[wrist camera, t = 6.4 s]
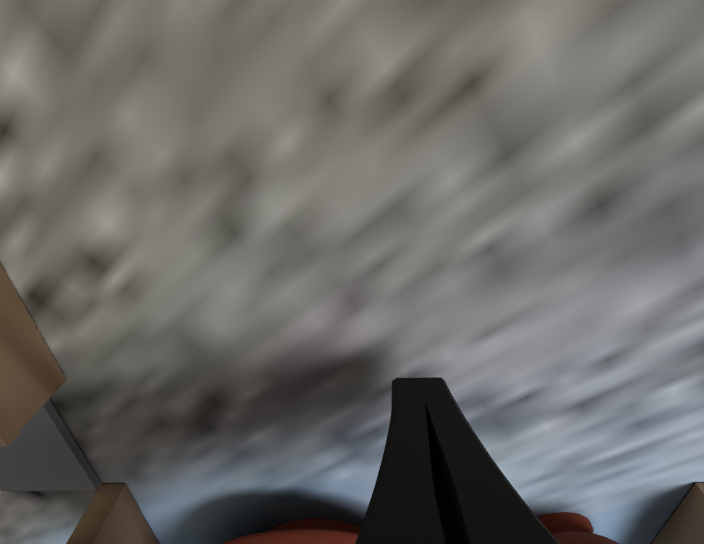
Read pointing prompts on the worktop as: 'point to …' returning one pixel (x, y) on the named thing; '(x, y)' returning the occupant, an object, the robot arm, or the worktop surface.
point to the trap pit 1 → (45, 458)
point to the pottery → (339, 537)
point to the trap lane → (115, 499)
